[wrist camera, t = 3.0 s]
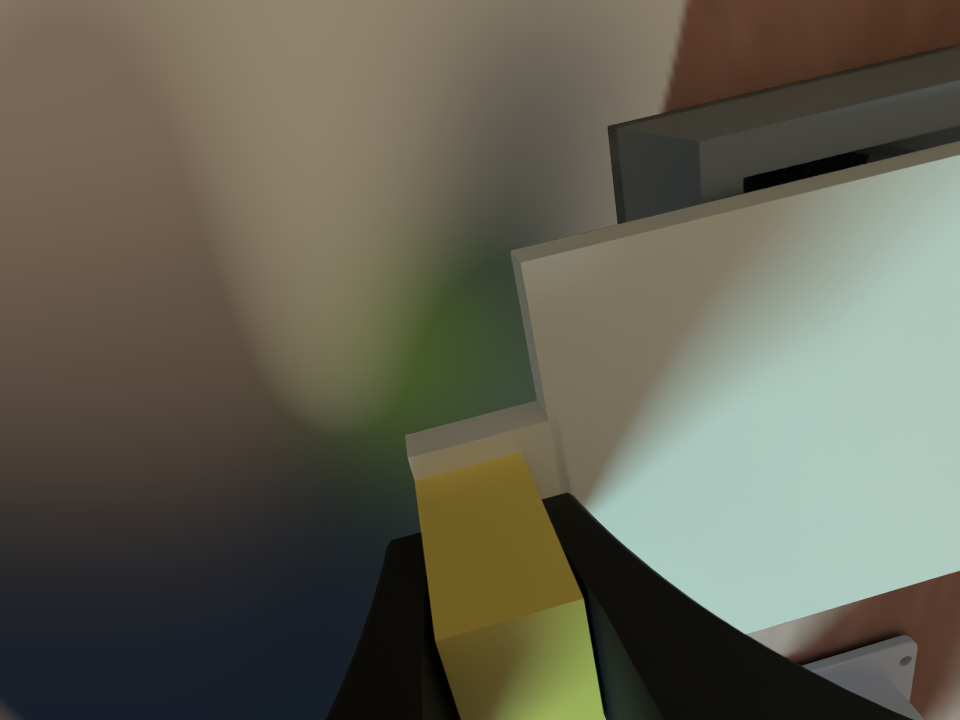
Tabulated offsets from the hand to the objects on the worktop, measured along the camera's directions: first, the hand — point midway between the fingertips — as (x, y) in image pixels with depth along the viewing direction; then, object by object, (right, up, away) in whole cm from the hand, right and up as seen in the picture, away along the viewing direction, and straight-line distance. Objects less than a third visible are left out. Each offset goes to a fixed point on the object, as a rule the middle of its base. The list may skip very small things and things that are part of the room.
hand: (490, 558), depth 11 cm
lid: (+7, +2, +2) cm, 7 cm away
